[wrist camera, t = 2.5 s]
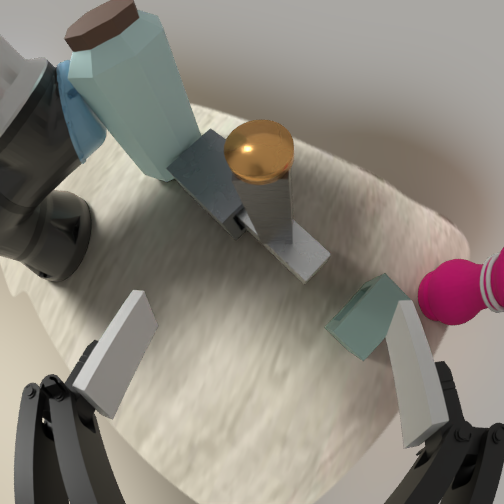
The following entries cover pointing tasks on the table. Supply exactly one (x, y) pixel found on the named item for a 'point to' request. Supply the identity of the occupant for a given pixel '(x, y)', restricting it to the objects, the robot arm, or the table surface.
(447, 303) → the pepper mill
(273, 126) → the gray hammer
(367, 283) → the socket block
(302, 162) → the table surface
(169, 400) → the table surface
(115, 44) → the water bottle
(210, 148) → the charcoal rectangular brick
